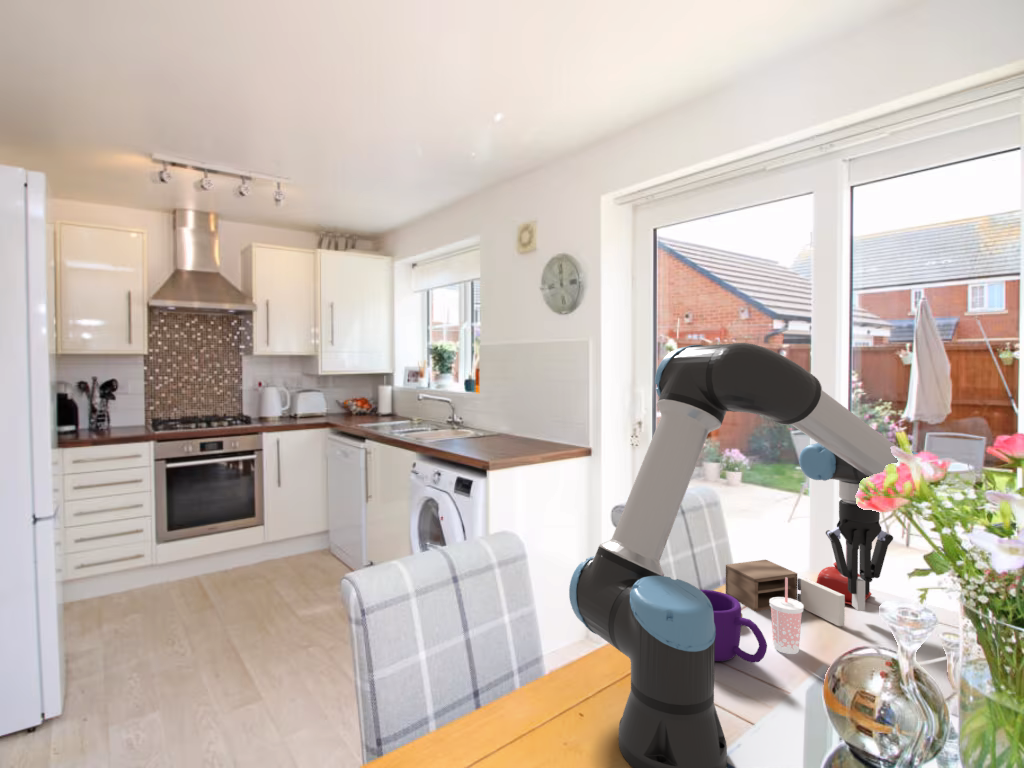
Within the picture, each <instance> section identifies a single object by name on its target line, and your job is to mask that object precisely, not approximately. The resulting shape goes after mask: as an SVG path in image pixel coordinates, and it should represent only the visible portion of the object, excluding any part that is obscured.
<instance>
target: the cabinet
mask: <svg viewBox="0 0 1024 768" xmlns="http://www.w3.org/2000/svg"><path fill="white" fill-rule="evenodd" d="M785 577H787V578H788V598H791V599H794V600H797V598H798V573H797V572H796V571H793V570H790V569H788V568H786V567H784V566H782V565H780V564H776V563H774V562H772V561H771V560H768V559H761V560H751V561H743V562H737V563H736V562H735V563H730V564H729V563H728V564H727V563H726V564H725V594H727V595H730V596H732V597H734V598H735V599H737V600H738V601H739V603H740V604H741V605H743V606H745V607H747V609H750V610H752V611H753V612H755V611H756V612H760V611H768V610H771V606H770V603H769V600H770V599H771V598H773V597H785Z"/></svg>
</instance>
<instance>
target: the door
mask: <svg viewBox="0 0 1024 768" xmlns="http://www.w3.org/2000/svg"><path fill="white" fill-rule="evenodd" d="M816 582H817V581H816ZM816 582H815V581H814V580H810V579H808V578H806V577H805V578H800V577H797V591H798V590H799V591H800V593H797V601H799V602H801V603H802V604H803V605H804V608H803V610H806V611H807V612H810V613H812V614H814V615H816V616H818V617H820V618H821V619H823V620H826V621H828V622H829V623H831V624H834V625H835V626H837V627H843V626H845V617H846V615H845V611H846V610H845V608H846V603H845V595H843V594H841V593H838V592H836V591H834V590H832V589H829V588H827V587H825V586H823V585H820V584H818V583H816Z"/></svg>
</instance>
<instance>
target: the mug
mask: <svg viewBox="0 0 1024 768" xmlns="http://www.w3.org/2000/svg"><path fill="white" fill-rule="evenodd" d="M700 590H701V591H702V592H703V593H704V594H705V595H706V596H707V597H708V599H709V600H710V602H711V604H712V607H713V613H714V623H715V627H716V630H715V633H716V635H715V662H725V661H729V660H731V659H733V658H734V657H736V656H737V657H738V658H740V659H742V660H743V661H746V662H749V663H750V664H751V663H760V662H761V661H763V660H762V659H764V657H765V655H766V653H767V649H768V643H767V641H766V638H765V635H764V634H763V632H762V631H761V629H760V628H759V626H758V625H757V624H756V622H754V621H752V620H751V619H750V618H747V617H742V618H741V613H742V606H741V605H742V604H741V603H740V602H739V601H738V600H737V599H735V598H734V597H732V596H730V595H727V594H726V592H722V591H716V590H711V589H700ZM741 626H744V627H747V628H749V630H751V632H752V634H754V637H755V638H756V641H757V642H758V648H757V650H756V652H755V653H754V654H752V653H749V652H746V651H744V650H742V649H741V648H740V641H741V632H742V631H741V630H742V629H741V628H742V627H741Z"/></svg>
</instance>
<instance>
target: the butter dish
mask: <svg viewBox="0 0 1024 768" xmlns="http://www.w3.org/2000/svg"><path fill="white" fill-rule="evenodd" d="M832 565H833V566H826V567H825V568H822V569H821V570H820V572H818V573H819V574H818V575H817V578H816V583H818V584H820V585H823V586H825V587H827V588H829V589H832V590H834V591H836V592H838V593H841V594H843V595H845V605H850V606H852V594H851V593H850V592H849V591H848V577H844V576H843V575H842V574H841V573H840V572H839V571H838V568H837V564H836V561H834V562H833V564H832ZM858 577H860V578H861V576H860V573H858ZM871 596H872V593H871V591H870V592H869V595H866V594H865V601H867V599H869V598H870V597H871Z"/></svg>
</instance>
